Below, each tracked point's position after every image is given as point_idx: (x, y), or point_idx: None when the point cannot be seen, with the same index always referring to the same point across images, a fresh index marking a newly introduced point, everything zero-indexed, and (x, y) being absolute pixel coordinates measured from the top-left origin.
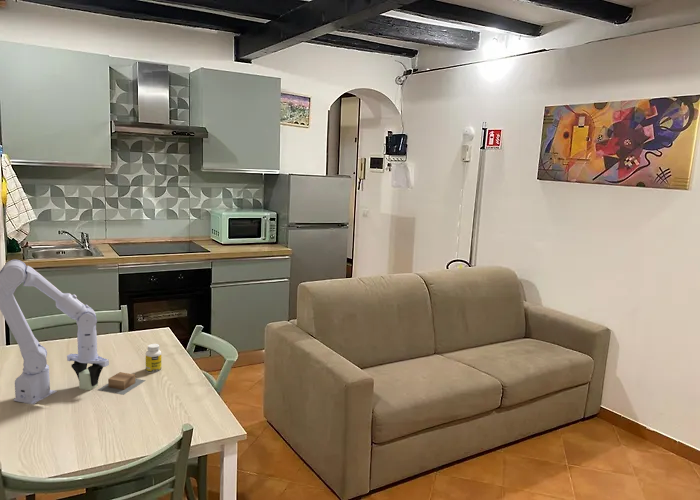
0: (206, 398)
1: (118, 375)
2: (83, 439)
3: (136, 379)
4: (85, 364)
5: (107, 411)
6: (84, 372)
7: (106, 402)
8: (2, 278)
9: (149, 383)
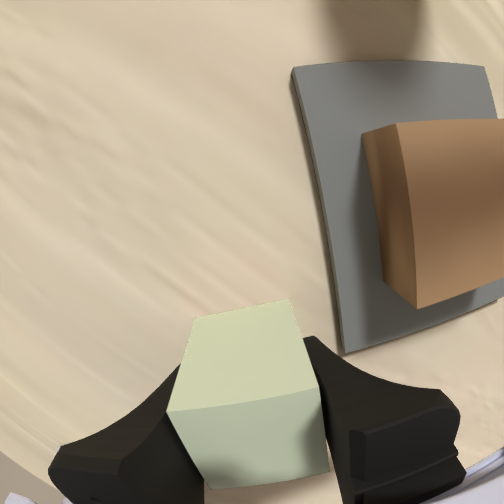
0: None
1: (445, 202)
2: None
3: (437, 71)
4: (155, 469)
5: (494, 407)
6: (242, 470)
7: (463, 379)
8: None
9: (499, 80)
